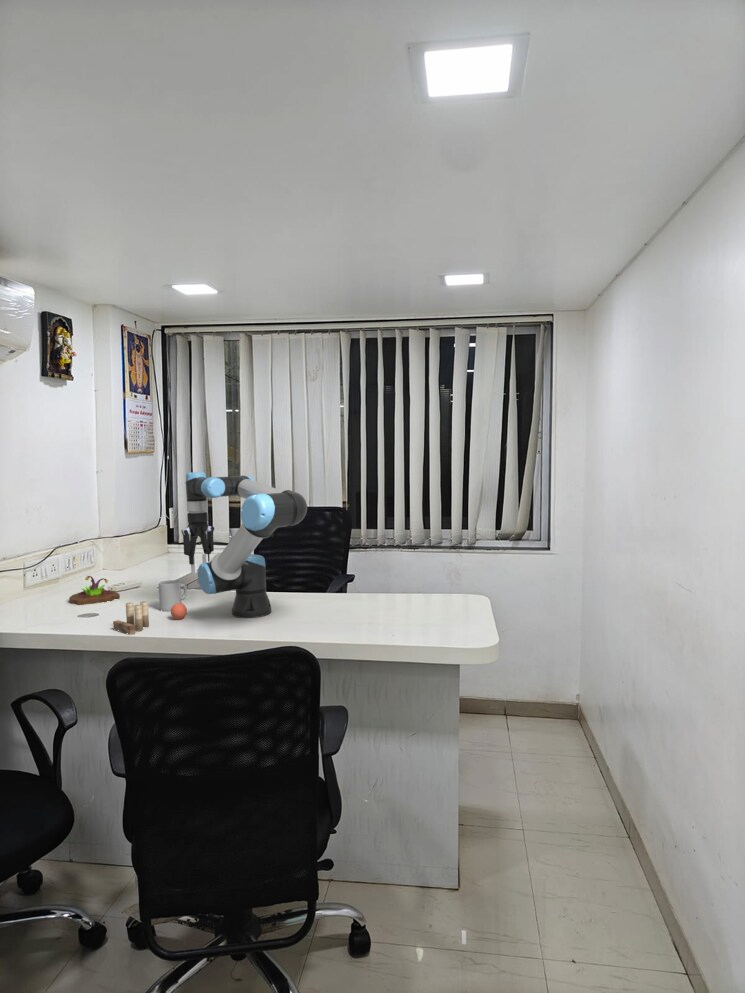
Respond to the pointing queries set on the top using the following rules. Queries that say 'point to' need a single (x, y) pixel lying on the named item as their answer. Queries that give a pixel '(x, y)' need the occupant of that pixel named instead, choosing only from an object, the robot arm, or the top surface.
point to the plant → (93, 594)
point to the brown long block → (124, 627)
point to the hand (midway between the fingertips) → (199, 571)
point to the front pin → (145, 614)
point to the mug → (170, 594)
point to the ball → (178, 611)
